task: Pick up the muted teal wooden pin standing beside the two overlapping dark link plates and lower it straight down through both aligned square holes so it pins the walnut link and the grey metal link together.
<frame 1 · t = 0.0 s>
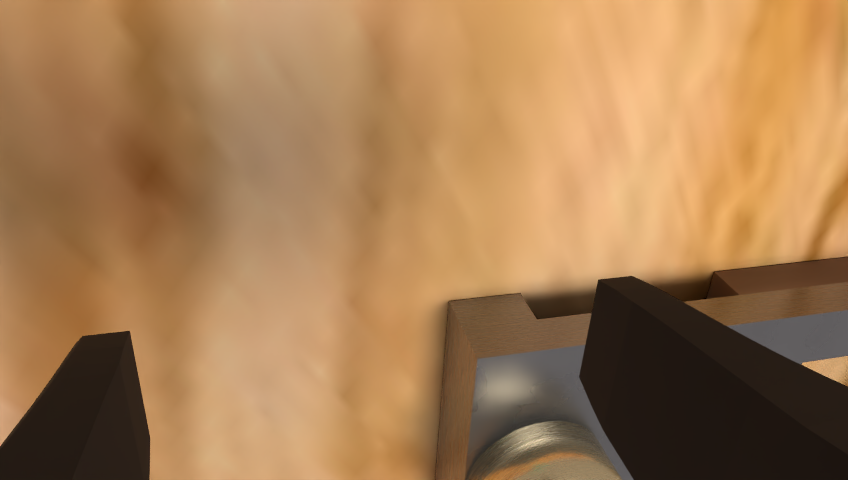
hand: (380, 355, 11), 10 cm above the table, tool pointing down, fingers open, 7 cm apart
walnut link: (796, 370, 31), on the table
metal link: (796, 370, 31), on the table
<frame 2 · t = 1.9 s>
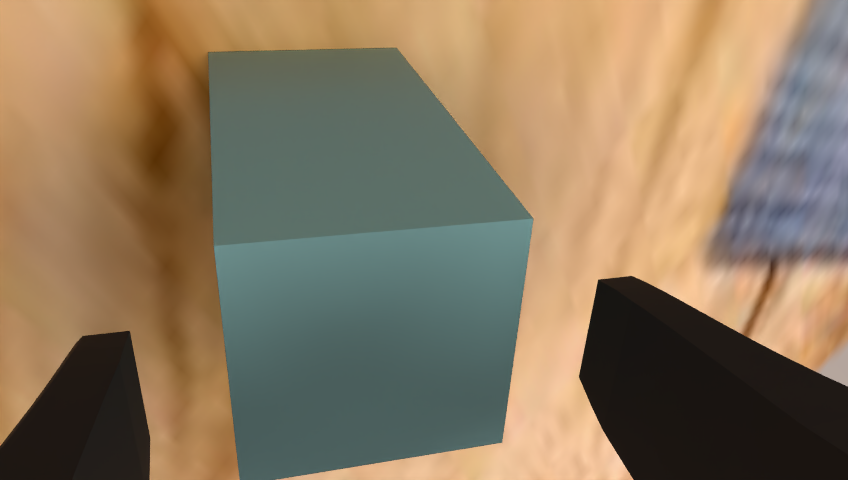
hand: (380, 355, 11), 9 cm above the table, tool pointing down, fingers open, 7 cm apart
pin: (308, 137, 19), on the table
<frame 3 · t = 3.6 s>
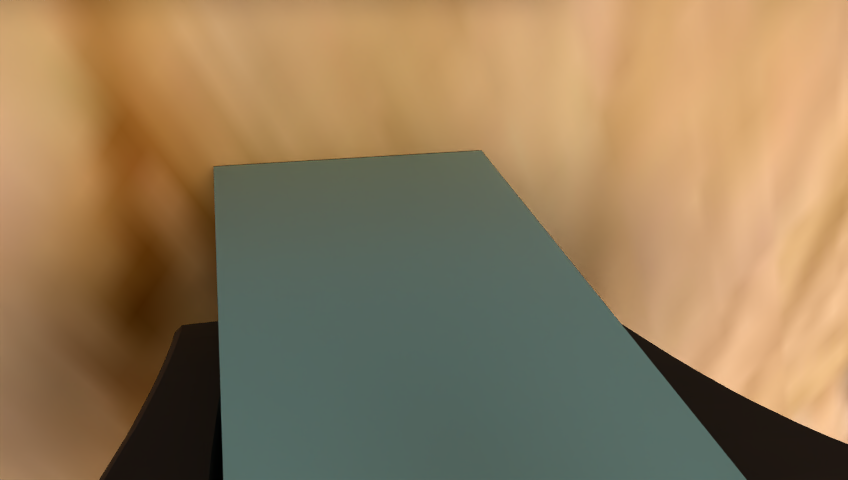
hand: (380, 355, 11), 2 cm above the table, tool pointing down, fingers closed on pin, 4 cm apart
pin: (353, 271, 13), on the table, touching gripper
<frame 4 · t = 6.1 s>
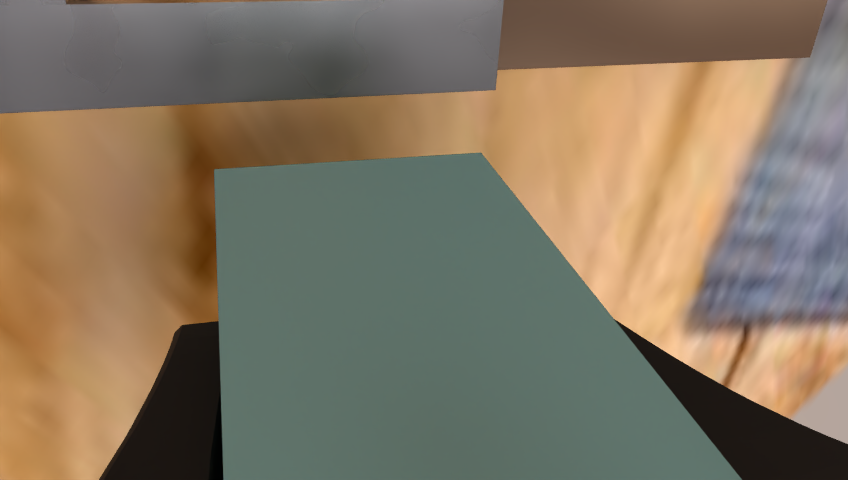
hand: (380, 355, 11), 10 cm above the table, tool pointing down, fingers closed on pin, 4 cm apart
pin: (353, 273, 13), point 7 cm above the table, touching gripper
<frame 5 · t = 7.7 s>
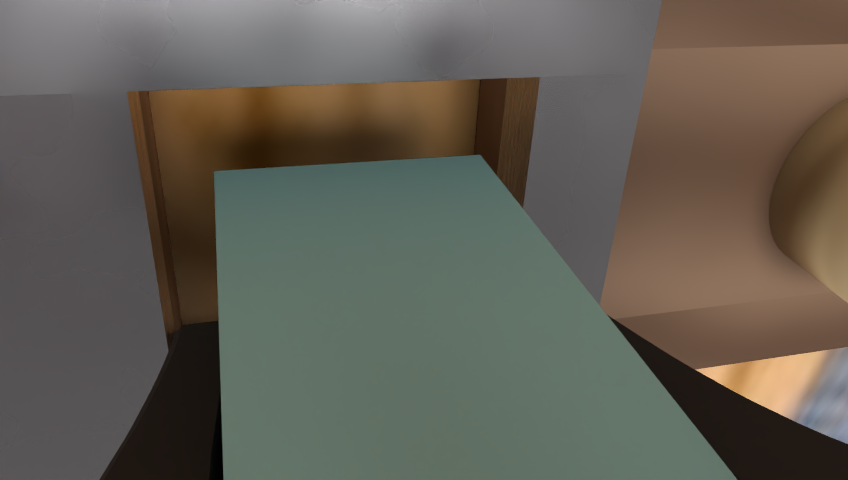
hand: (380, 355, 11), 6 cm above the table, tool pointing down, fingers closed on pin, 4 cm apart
pin: (353, 275, 13), point 3 cm above the table, touching gripper
walnut link: (325, 190, 16), on the table
metal link: (325, 190, 16), on the table
when the fingers open (4 cm above the table, at t = 9.0 s): pin drops 1 cm, resting in walnut link.
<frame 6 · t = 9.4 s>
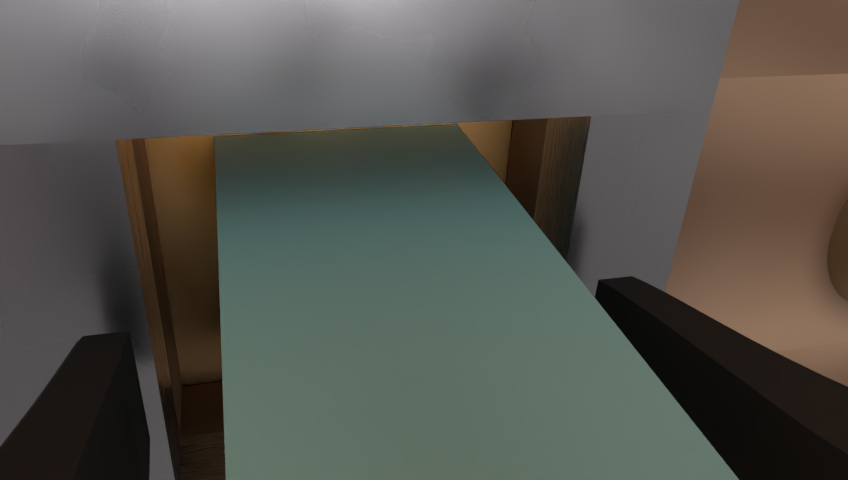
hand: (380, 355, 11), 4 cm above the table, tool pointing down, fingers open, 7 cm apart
pin: (341, 235, 15), resting in walnut link
walnut link: (340, 232, 15), on the table
metal link: (340, 232, 15), on the table
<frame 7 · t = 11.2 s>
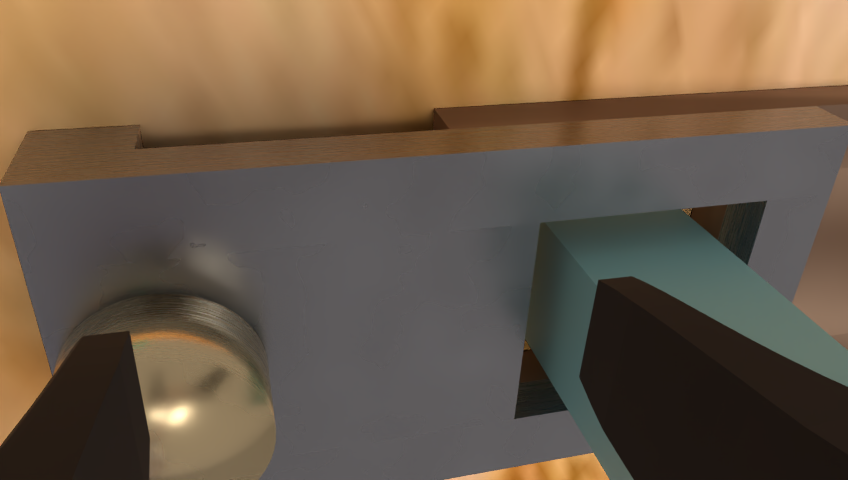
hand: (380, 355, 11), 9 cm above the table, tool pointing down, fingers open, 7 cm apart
pin: (589, 262, 24), resting in walnut link
walnut link: (589, 260, 24), on the table
metal link: (589, 260, 24), on the table
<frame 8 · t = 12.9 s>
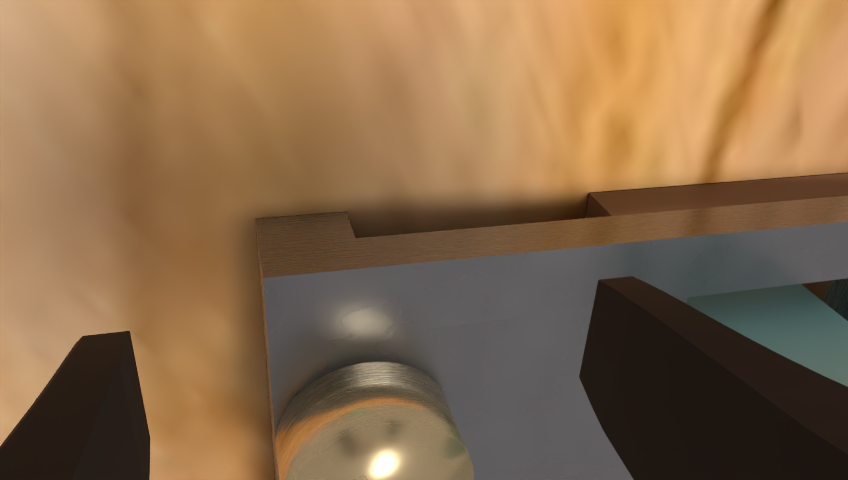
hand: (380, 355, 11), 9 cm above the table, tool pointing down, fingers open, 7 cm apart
pin: (702, 319, 27), resting in walnut link
walnut link: (703, 318, 26), on the table
metal link: (703, 318, 26), on the table
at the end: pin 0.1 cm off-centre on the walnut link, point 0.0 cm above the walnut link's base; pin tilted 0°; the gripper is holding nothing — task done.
